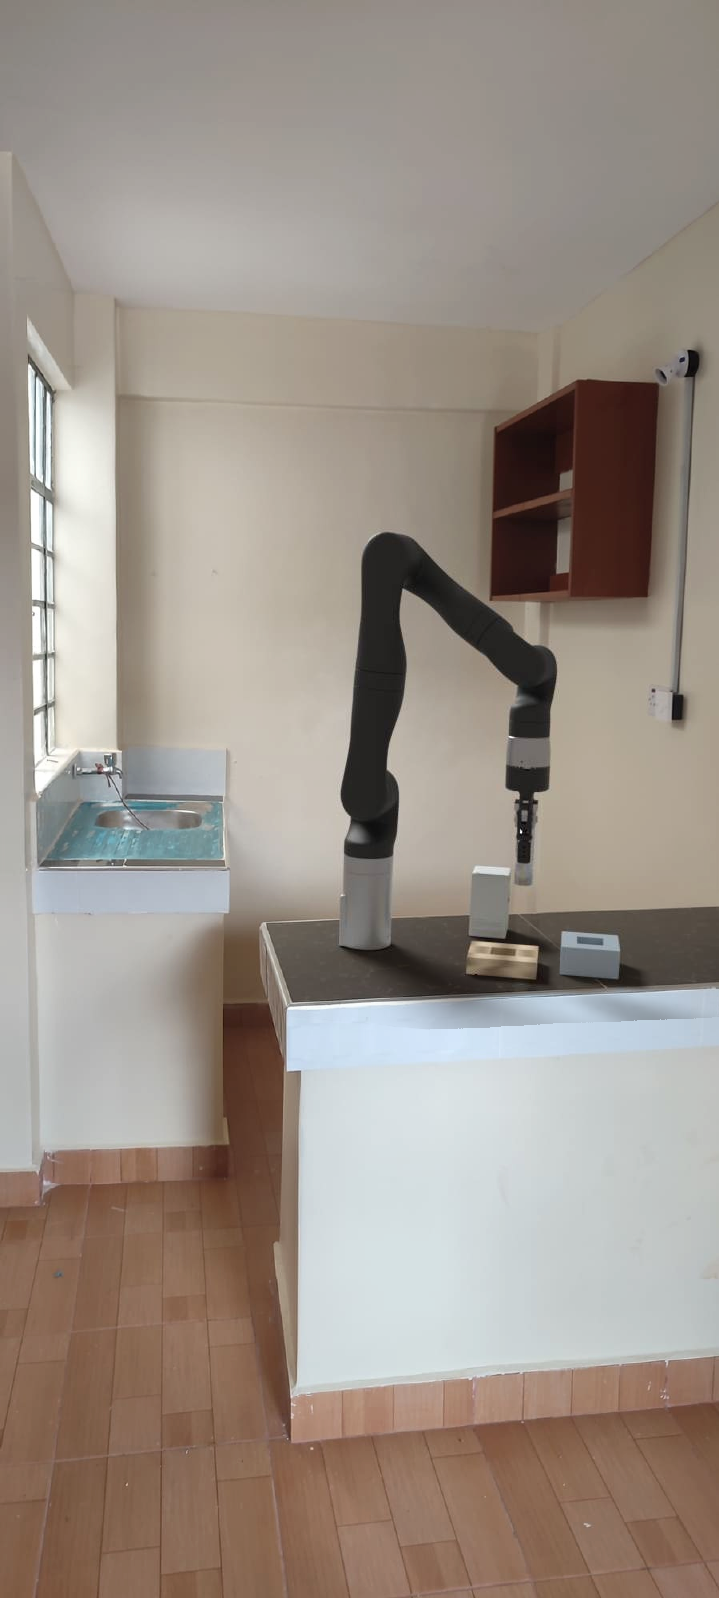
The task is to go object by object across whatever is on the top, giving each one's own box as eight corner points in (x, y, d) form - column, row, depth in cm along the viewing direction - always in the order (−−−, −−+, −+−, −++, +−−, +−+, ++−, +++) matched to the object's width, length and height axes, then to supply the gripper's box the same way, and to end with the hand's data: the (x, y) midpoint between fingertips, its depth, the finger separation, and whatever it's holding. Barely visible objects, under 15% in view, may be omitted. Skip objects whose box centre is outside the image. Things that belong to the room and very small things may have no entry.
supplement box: (506, 939, 219) (509, 875, 216) (467, 936, 220) (470, 872, 218) (508, 929, 226) (512, 867, 224) (471, 926, 227) (474, 864, 225)
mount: (466, 973, 197) (466, 957, 196) (471, 956, 207) (471, 941, 206) (535, 979, 195) (536, 962, 194) (537, 962, 205) (538, 946, 204)
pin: (511, 885, 197) (513, 817, 195) (512, 880, 201) (514, 813, 199) (534, 887, 196) (537, 818, 194) (535, 881, 200) (538, 814, 198)
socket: (559, 974, 198) (561, 946, 197) (560, 957, 208) (561, 931, 207) (618, 979, 196) (620, 951, 195) (616, 962, 206) (617, 935, 205)
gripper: (508, 756, 202) (505, 851, 205) (503, 766, 189) (499, 868, 191) (551, 758, 201) (547, 853, 204) (549, 768, 187) (544, 870, 190)
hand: (524, 860), depth 198 cm, fingers closed on pin, 3 cm apart
